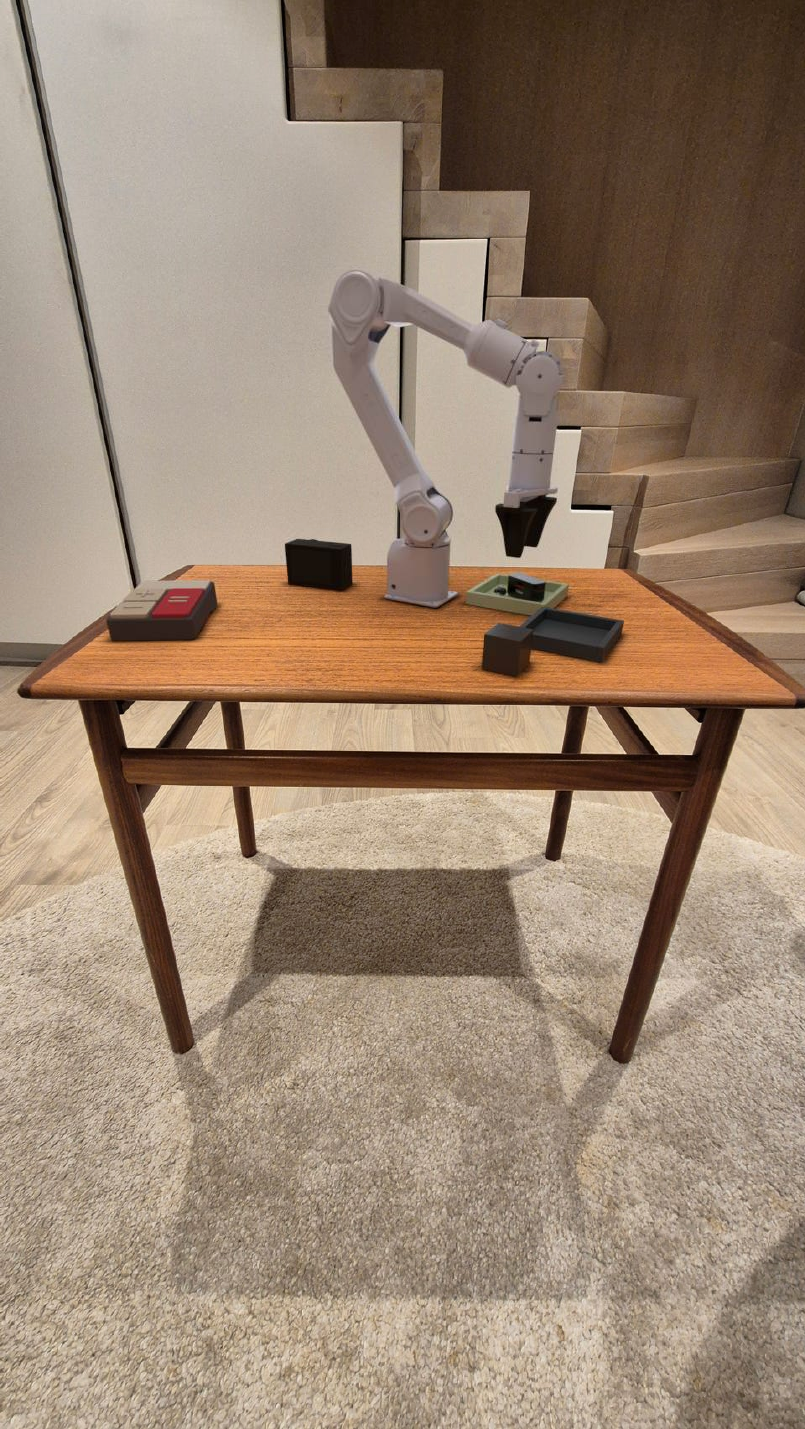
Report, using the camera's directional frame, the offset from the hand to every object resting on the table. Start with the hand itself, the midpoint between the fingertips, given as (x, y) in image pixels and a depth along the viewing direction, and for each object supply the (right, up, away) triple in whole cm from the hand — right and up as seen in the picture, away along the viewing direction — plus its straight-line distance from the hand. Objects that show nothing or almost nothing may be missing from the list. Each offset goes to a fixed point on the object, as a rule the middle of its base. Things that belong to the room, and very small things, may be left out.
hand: (522, 551), depth 89 cm
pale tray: (+1, -6, +7) cm, 9 cm away
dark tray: (+5, -14, -9) cm, 17 cm away
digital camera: (-32, -2, +14) cm, 35 cm away
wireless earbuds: (+1, -6, +6) cm, 8 cm away
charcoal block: (-5, -19, -17) cm, 26 cm away
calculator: (-51, -11, -4) cm, 53 cm away
